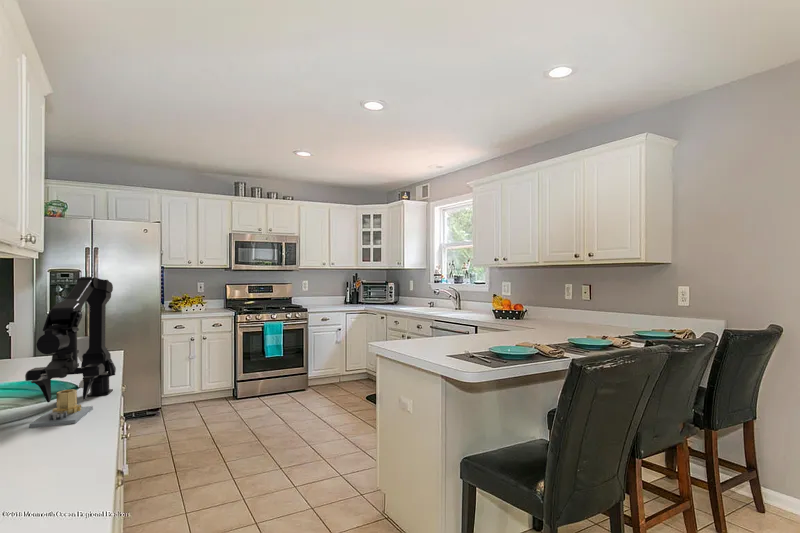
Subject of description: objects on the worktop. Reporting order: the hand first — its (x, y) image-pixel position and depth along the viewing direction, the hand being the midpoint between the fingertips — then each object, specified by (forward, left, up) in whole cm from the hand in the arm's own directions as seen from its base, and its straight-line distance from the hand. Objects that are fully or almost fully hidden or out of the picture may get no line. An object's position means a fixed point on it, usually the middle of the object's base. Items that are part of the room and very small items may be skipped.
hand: (66, 400), depth 141 cm
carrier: (+3, 0, -4) cm, 5 cm away
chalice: (-39, -7, -4) cm, 40 cm away
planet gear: (0, 0, -3) cm, 3 cm away
